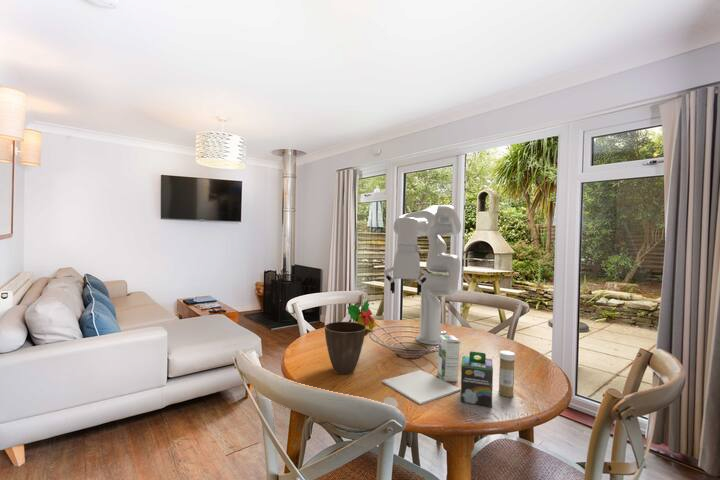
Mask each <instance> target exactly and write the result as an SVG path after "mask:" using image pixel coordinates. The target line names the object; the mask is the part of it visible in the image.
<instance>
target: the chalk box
mask: <svg viewBox="0 0 720 480" xmlns="http://www.w3.org/2000/svg"><path fill="white" fill-rule="evenodd" d="M476 356H477V357H476ZM478 356H479V357H478ZM486 356H487V355H486V352H478V351H469V356H465V355H464V356H462V358H461V367H460V370H461V371H460V372H461V373H460V374H461V375H460V389H461V391H460V403H464V404H465V403H466V404H471V405H476V406H482V407H486V408H493V387H494V386H493V382H494V381H493V380H494V366H493V359H492V358H487V357H486Z"/></svg>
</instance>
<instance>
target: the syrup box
mask: <svg viewBox="0 0 720 480" xmlns="http://www.w3.org/2000/svg"><path fill="white" fill-rule="evenodd" d="M437 353H438V354H437V355H438V356H437V376H438V378H439V379H441V380H443V381H445V382H458V377H459V360H460V359H459V358H460V340H459V338H457V337H456V336H455V335H451V334H450V335H448V334H446V335H440V336H439V344H438V352H437Z"/></svg>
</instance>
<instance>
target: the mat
mask: <svg viewBox="0 0 720 480" xmlns="http://www.w3.org/2000/svg"><path fill="white" fill-rule="evenodd" d="M381 381H382V383H383V384H385V385H387V386H388V387H390V388H391V389H393V390H395V391H396V392H398V393H400V394H401V395H403V396H404V397H407V398H408V399H410V400H411V401H412V402H413V401H414V403H416V404H418V405H420V406H421V405H423V404H426V403H429V402H432V401H435V400H438V399H441V398H444V397H446V396H450V395H452V394H456V393H458V392H461V388H460V387H457V386H456V385H453V384H451V383H449V382H448V381H443V380H441V379H440V378H439V377H437V376H434V375H432V374H430V373H428V372H427V371H424V370H422V369H419V370H416V371H411V372H409V373H405V374H402V375H398V376H395V377H394V376H392V377H390V378H386V379H384V380H383V379H382V380H381Z"/></svg>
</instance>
